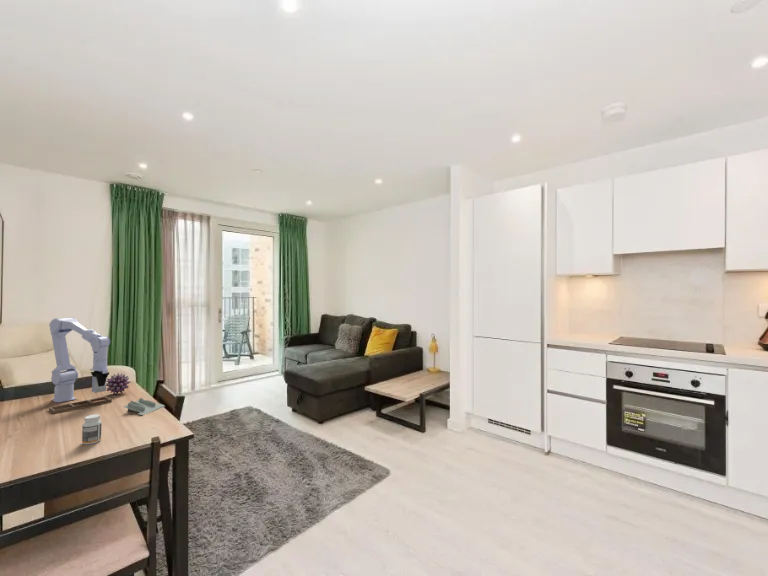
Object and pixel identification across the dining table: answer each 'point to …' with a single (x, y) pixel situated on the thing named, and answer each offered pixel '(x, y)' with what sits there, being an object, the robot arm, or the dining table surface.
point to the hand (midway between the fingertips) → (99, 385)
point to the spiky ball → (117, 383)
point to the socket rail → (79, 405)
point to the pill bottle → (91, 429)
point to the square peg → (95, 385)
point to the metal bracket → (143, 406)
